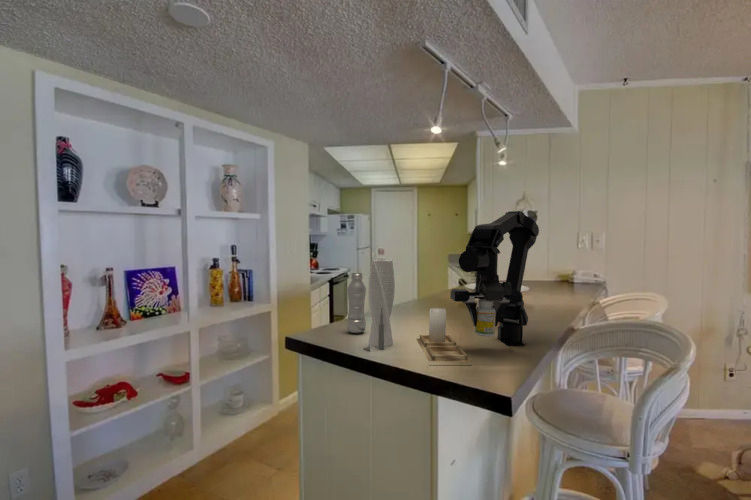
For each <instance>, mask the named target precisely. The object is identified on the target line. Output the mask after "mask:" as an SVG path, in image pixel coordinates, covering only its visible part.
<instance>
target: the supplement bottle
mask: <svg viewBox="0 0 751 500" xmlns="http://www.w3.org/2000/svg"><path fill="white" fill-rule="evenodd" d="M477 305H478V306H476V318H477V324H476V327H475V326H474V328H475V329H474V332H475V334H476V336H480V337H487V338H488V337H494V336H495V334H496V327H495V315H496V311H495V309H494V308H493V307H494V300H492V301H487V300H485V299H478V304H477Z"/></svg>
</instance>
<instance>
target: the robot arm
mask: <svg viewBox="0 0 751 500" xmlns="http://www.w3.org/2000/svg"><path fill="white" fill-rule="evenodd" d="M539 232H540V229H539V225H538V224H537V223H536V221H535V219H533V218H532V217H529V216H527V215H526V214H525V212H524V211H521V210H516V211H514V210H513V211H511V210H510V211H507V212H505V214H504V215H502V216H500V217H499V218H497V219H495V220H494V221H492V222H491V223H489V222H488V223H481V224H477V225H475V226H474V228H473V230H472V232H471V235H470V237H469V240H468V242H467V245H465V250H464V251H463V252H462V253H461V254H460V255H459V258H458V265H459V267H460V269H461V270H462V271H464V272H465V273H473V272H474V277H475V286H474V291H469V290H467V289H465V288H452V289H451V291H450V299H451V300H452V301H454V302H456V303H457V302H460V303H462V304H464V305H465V306H466V309H467V310H468V312H469V316H470V319H471V321H472V324H473V327H474V328H475V327H476V324H477V318H476V308H477V305H478V304H477V302H475V299H476V300H477V299H478V300H479V299H485V300H487V301H492V300H493V306H492V307H493V308H494V309H495V311H496V315H495V328H496V327H497V337H496V339H497V340H499V341H500V342H501V343H502V344H504V345H505V346H525V342H523V331H524V329H523V328H524V326H527V325H528V322H529V316H528V314H527V311H526V309H525V302H524V299H523V297H524V296H523V293H522V292H521V291H522V286H523V285H522V284H523V280H524V275H525V270H526V264H527V259H528V254H529V250H530V249H531V248H532V247H533V246H534V245H535V244H536V241H537V237H538V236H539ZM507 233H508V234H509V236H508V237H509V240H510V242H511V245H512V249H511V253H510V259H509V264H508V268H507V273H506V279H505V281H502V282H500V277H499V274H498V258H499V257H498V256H499V254H501V251H500V248H499V246H500V244H501V243H502V242H503V241H504V239H505V238H504V236H505V235H506V234H507ZM498 324H499V326H498Z"/></svg>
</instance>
